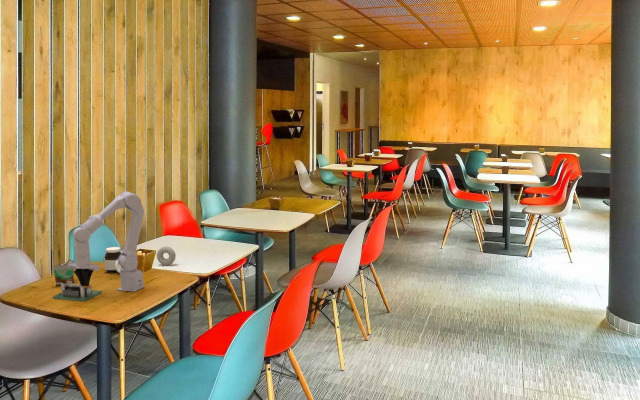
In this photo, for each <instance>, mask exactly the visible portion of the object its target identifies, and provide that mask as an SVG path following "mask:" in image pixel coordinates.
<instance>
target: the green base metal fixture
mask: <svg viewBox="0 0 640 400" xmlns="http://www.w3.org/2000/svg"><path fill="white" fill-rule="evenodd" d="M67 283H69V284H73V283H72V281H67ZM60 291H61V292H59V293H57V294H55V295H53V296H52V299H54V300H55V299H56V300H67V301H74V302H75V301H76V302H86V301H88V300H91V299H93V298H95V297H97V296H99V295H101V294H103V291H102V290H94V289H93V286H92V285H91V287H89V288H84V286H81V287H66V284H61V286H60Z"/></svg>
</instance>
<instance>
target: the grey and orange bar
mask: <svg viewBox="0 0 640 400" xmlns="http://www.w3.org/2000/svg"><path fill="white" fill-rule="evenodd" d="M83 286H84V288H89V287H91V286H92V285H91V284H89V285H87V286H85V285H83ZM66 287H81V285H80V283H72V284H69V283H66Z"/></svg>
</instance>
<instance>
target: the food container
mask: <svg viewBox="0 0 640 400" xmlns="http://www.w3.org/2000/svg"><path fill="white" fill-rule="evenodd" d="M70 263H75V261H74V260H73V259H67V261H66V262H62V263H60V264H58V265H53V266H52V271H53V273H54V280H55V286H57V287H61V284H66V283H67V281H72V284H74V282H75V281H74V280H75V279H74V278H75V275H74V274H75V273H74V271H75V269H73V268H71V269H68V264H70Z"/></svg>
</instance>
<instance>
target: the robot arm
mask: <svg viewBox="0 0 640 400" xmlns="http://www.w3.org/2000/svg"><path fill="white" fill-rule="evenodd" d="M126 208H127V210H128V211H129V212H130V213H131V215H130V220H129V225H128V230H127V234H126V239H125V244H124V248H123V249H122V250H121V255H120V256H119V258H118V263H119V265H120V266H121V268H120V273H119V277H120V287H118V288H116V290H117V291H123V292H137V291H140V290H141V289H143V288H145V287H146V286H145V284H144V274H143V271H142V270H140V269H137V267H138V265H139V262H138V261H139V260H138V251H137V249H138V243H139V240H140V235H141V234H140V233H141V231H142V230H141V229H142V227H143V226H142V224H143V220H144V216H145V209H144V207H143V203H142V199H141V198H140V196H138V195H137V193H133V192H130V191H128V190H126V191H122V192H121V193H120V194H119V195H117V196H116V197H115V198H114V199H113V200H112V201H111V202H110V203H109V204H108V205H107V206H106V207H105V208H103V210H101V212H99V213H98V214H93V215H90V216H88V219H87V220H86V221H85V222H84V223H81V224H80V225H79V227H76V228H75V229H73V232H72V238H73V239H74V251H75V254H74V255H75V262H74V263H70V264H68V269H71V268H73V269H74V274H75V276H76V277H77V279H78V281H79V284H80V285H81V286H83V285H85V286H87V285H90V281H91V277H92V275H93V272H94V271H96V272H97V271H100V265H98V264H93V263H91V255H90V251H91V250H90V244H89V243H90V242H89V240H90V239H91V235H93V234H94V233H95V232H96V231H97V230H98V229H100V228H101V227H102V226H103V224H104V220H106V219H107V218H108V217H110V216H111V215H113V213H115V212H116V211H118V209H119V210H120V209H126Z"/></svg>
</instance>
